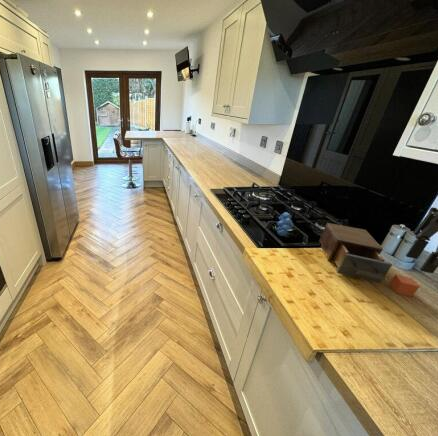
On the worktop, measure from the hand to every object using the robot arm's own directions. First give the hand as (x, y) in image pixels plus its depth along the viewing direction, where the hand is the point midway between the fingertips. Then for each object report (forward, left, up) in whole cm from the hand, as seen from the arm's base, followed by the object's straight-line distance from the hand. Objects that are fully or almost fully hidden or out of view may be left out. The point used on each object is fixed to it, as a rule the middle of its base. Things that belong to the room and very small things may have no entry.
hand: (418, 264), depth 74 cm
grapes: (+34, -23, -11) cm, 43 cm away
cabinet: (+12, -17, -11) cm, 24 cm away
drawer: (+12, -5, -10) cm, 16 cm away
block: (0, 0, -11) cm, 11 cm away
